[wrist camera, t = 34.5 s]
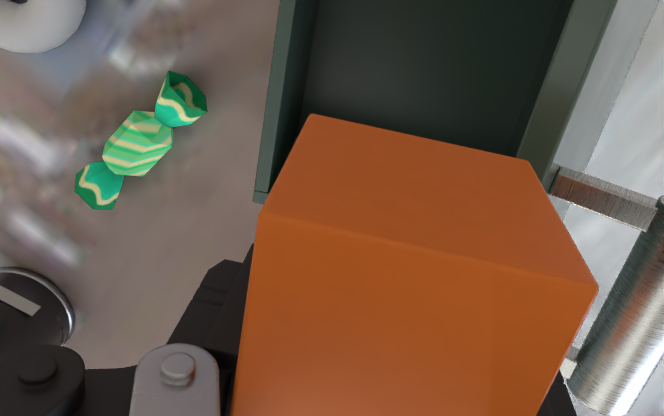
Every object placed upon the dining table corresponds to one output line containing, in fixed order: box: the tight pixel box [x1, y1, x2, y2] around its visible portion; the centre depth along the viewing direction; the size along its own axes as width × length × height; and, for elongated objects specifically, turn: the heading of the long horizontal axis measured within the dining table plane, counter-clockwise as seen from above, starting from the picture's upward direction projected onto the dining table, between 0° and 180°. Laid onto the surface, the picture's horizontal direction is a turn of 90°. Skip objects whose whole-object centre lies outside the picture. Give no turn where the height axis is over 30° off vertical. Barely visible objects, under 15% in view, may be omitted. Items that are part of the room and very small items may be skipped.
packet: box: [229, 114, 598, 416], centre depth 11 cm, size 4×8×4 cm, turn 170°
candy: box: [75, 71, 207, 210], centre depth 41 cm, size 12×3×4 cm
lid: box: [515, 0, 664, 416], centre depth 20 cm, size 17×16×5 cm
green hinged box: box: [253, 0, 573, 204], centre depth 33 cm, size 17×16×11 cm
